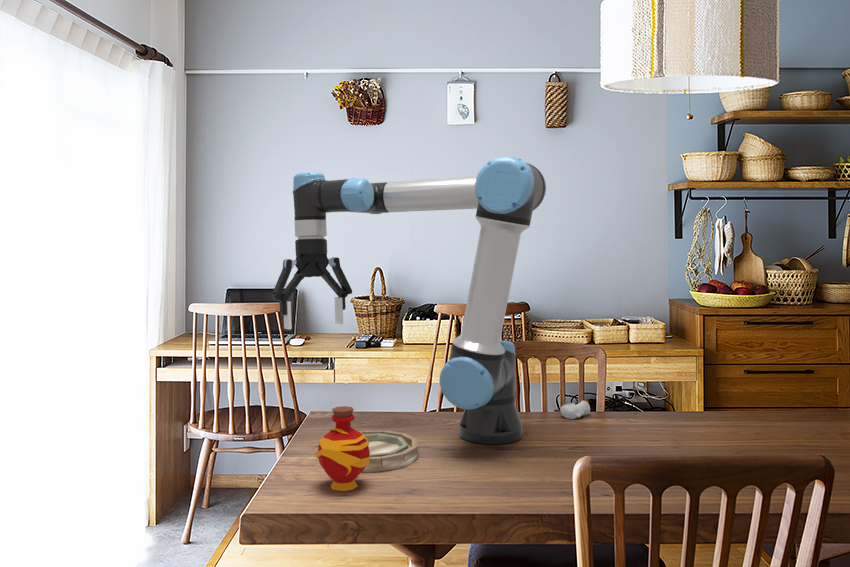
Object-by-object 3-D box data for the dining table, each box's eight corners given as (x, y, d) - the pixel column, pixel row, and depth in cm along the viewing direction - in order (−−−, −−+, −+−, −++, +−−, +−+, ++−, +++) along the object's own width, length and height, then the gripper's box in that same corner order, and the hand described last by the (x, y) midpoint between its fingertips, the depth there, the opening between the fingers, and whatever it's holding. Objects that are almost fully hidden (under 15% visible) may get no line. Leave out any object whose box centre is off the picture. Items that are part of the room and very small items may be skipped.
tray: (433, 449, 148) (433, 437, 148) (386, 478, 130) (385, 464, 130) (359, 437, 157) (359, 426, 157) (306, 462, 140) (305, 449, 140)
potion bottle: (306, 486, 127) (304, 409, 126) (349, 472, 134) (347, 399, 133) (339, 501, 119) (337, 419, 118) (382, 485, 127) (381, 408, 126)
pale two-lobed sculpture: (566, 425, 171) (556, 414, 175) (593, 421, 173) (583, 411, 178) (569, 410, 169) (559, 400, 174) (595, 407, 172) (585, 397, 176)
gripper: (349, 237, 169) (352, 320, 170) (255, 239, 154) (258, 329, 156) (364, 237, 162) (366, 322, 164) (267, 238, 148) (271, 332, 149)
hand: (314, 326), depth 160 cm, fingers open, 13 cm apart
